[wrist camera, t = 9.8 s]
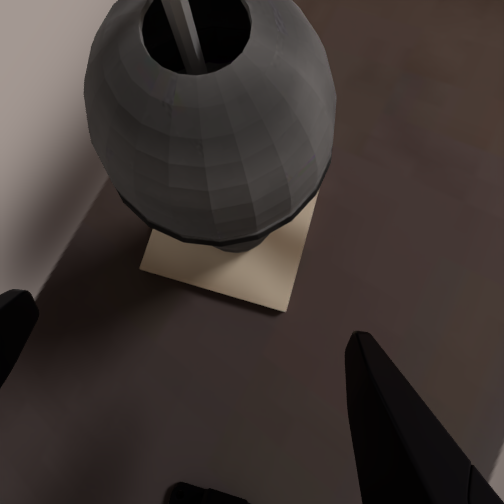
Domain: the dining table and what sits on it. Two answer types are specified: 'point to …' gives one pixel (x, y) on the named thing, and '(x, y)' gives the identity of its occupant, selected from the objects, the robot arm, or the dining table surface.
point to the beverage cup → (211, 115)
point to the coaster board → (236, 263)
